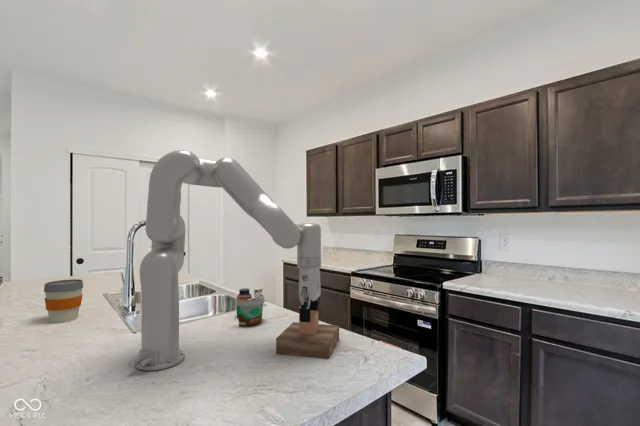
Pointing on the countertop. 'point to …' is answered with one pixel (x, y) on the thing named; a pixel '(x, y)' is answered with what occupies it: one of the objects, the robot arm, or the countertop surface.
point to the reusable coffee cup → (63, 300)
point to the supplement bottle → (243, 295)
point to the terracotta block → (309, 324)
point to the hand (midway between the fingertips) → (309, 317)
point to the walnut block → (308, 341)
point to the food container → (250, 311)
